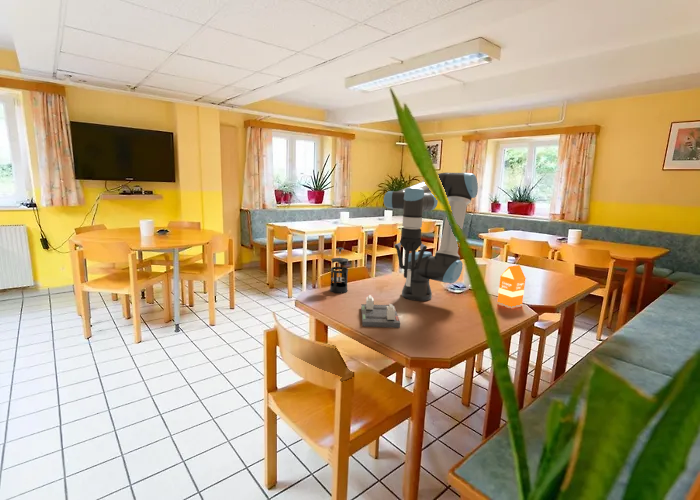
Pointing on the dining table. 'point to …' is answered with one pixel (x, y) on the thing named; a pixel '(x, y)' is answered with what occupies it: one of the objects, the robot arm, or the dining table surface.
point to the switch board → (378, 317)
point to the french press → (338, 286)
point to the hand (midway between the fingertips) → (407, 285)
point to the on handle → (369, 302)
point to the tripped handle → (390, 312)
